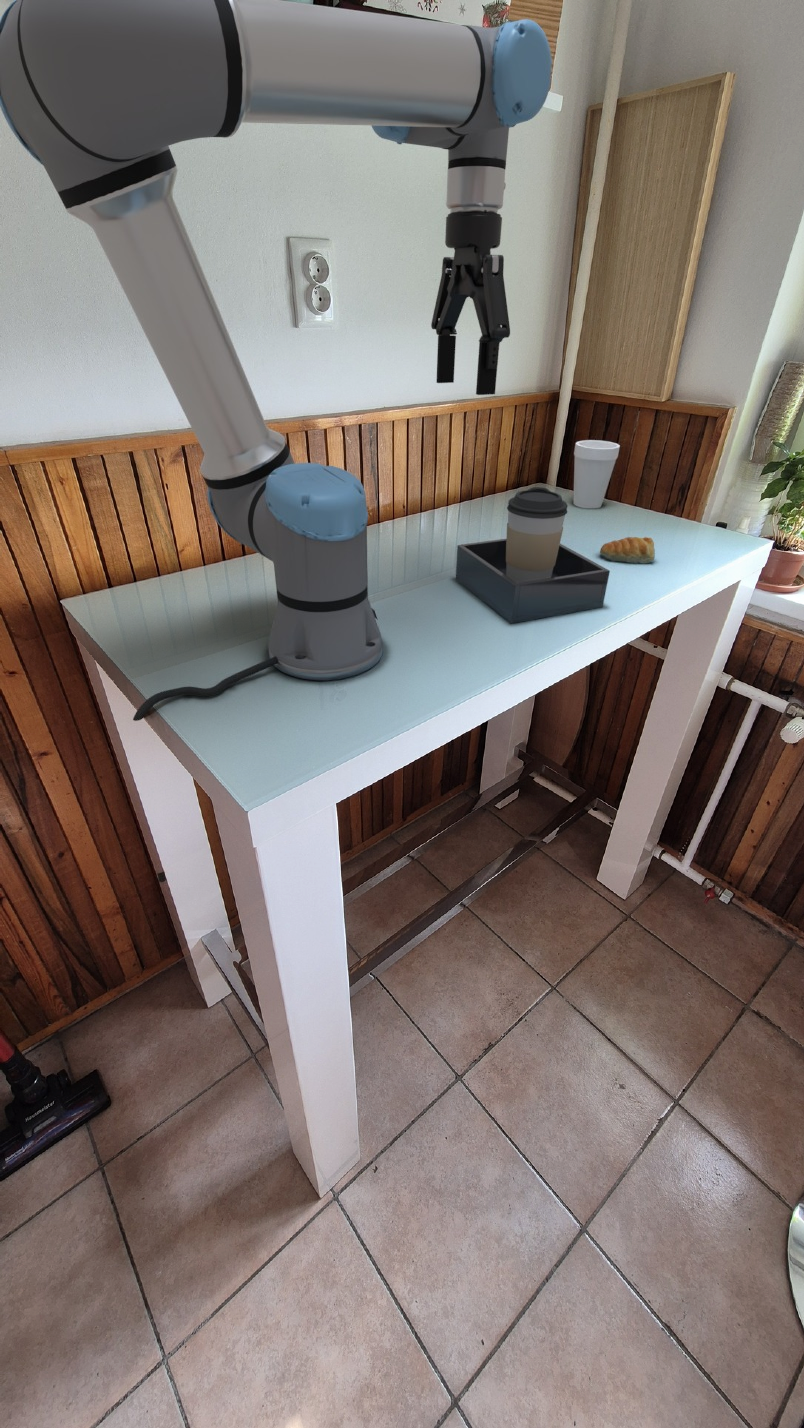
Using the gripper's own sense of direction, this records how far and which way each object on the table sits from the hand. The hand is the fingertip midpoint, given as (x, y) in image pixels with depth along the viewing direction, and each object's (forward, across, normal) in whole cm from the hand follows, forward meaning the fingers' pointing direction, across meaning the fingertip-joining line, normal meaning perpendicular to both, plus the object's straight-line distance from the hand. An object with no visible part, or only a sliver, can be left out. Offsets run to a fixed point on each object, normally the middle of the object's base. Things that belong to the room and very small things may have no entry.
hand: (464, 388), depth 98 cm
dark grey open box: (+29, -14, -6) cm, 32 cm away
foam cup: (+29, +26, -47) cm, 61 cm away
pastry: (+29, -7, -33) cm, 44 cm away
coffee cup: (+28, -14, -6) cm, 32 cm away
